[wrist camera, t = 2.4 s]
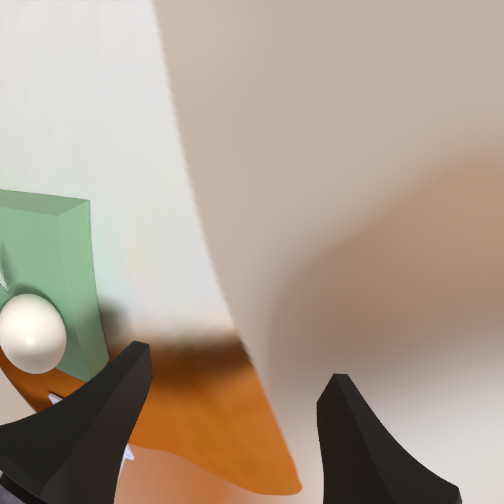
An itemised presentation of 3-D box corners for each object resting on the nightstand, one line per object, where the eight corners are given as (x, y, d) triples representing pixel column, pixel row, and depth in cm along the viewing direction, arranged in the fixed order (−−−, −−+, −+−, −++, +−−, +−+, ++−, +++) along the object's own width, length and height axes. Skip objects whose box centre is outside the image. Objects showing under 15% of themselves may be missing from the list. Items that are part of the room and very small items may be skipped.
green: (109, 358, 14) (94, 385, 12) (-12, 303, 14) (-28, 317, 12) (89, 200, 10) (57, 216, 8) (-36, 186, 10) (-58, 196, 8)
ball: (85, 349, 11) (53, 401, 8) (37, 328, 11) (2, 370, 8) (71, 290, 10) (22, 342, 6) (20, 271, 9) (-26, 311, 6)
